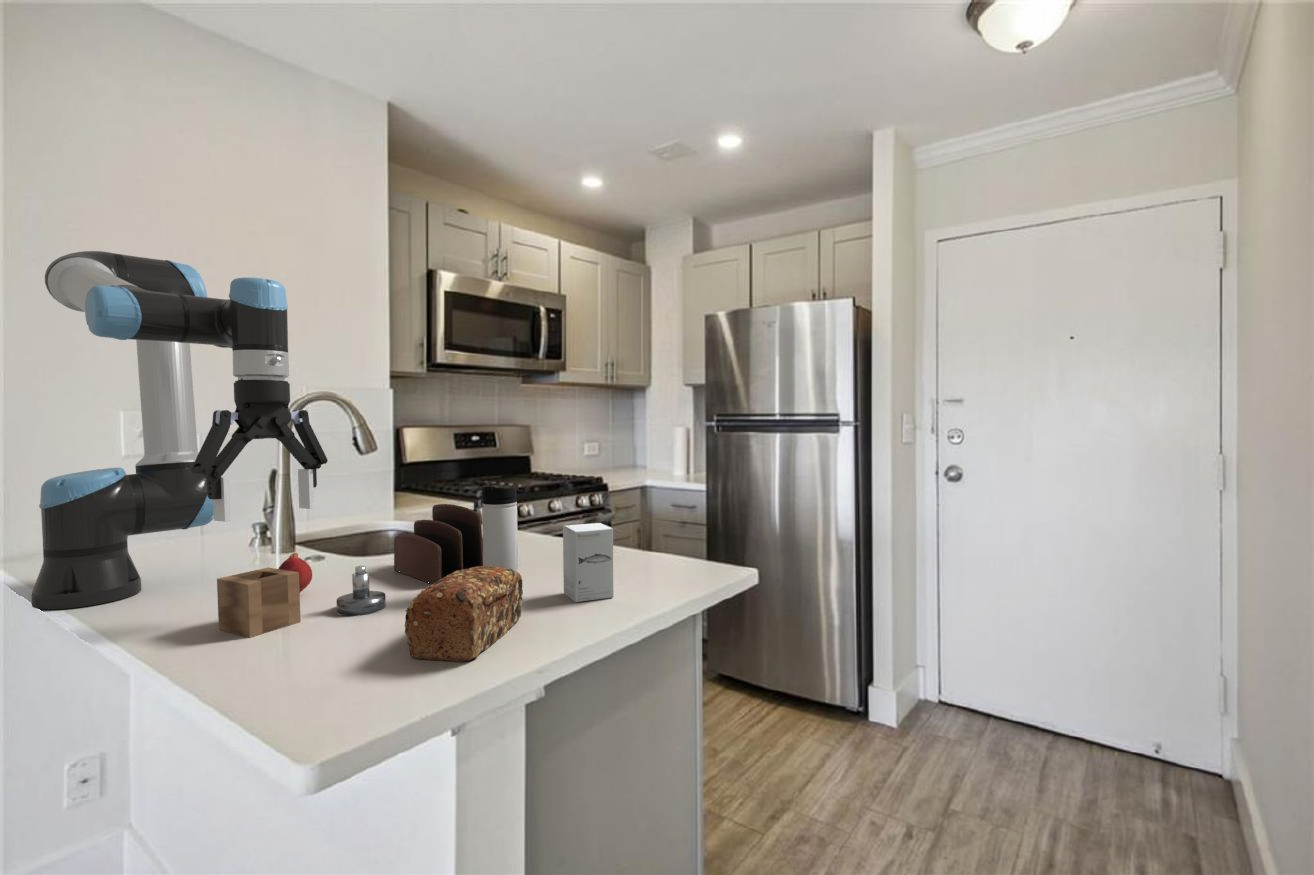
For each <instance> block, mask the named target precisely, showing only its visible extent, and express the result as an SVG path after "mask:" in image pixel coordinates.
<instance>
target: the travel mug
mask: <svg viewBox="0 0 1314 875" xmlns="http://www.w3.org/2000/svg"><path fill="white" fill-rule="evenodd" d="M481 498H482V500H481V502H482V503H481V506H482V507H481V524H482V537H483V566H493V567H496V566H498V567H503V568H507V569H508V568H510V569H513V570H514V571H517V572H518V573H519V544H518V543H519V538H518V506H517V505H518V502H517V488H516V487H509V488H508V487H496V486H495V485H484V486H482V487H481Z"/></svg>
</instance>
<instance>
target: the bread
mask: <svg viewBox="0 0 1314 875" xmlns="http://www.w3.org/2000/svg"><path fill="white" fill-rule="evenodd" d="M523 591H524V590H523V578H522V575H521V574H520V573H519V571H518V572H517V571H514V570H513V569H510V568H508V569H507V568H503V567H498V566H496V567H493V566H475V567H472V568H469V569H463V570H457V571H455V572H453V573H451V574H450V575H447V576H446V577H444V578H442V579H441V580H439V581H437V582H435V583H434V584H430V585H428V586H426V587H425V588H424V589H422V590H421V591H420V592H418V594H417V595H416V597H414V598H413V599H412V600H411V601H410V602H409V604H408V606H407V608H406V609H405V612H406V613H405V616H404V618H405V621H404V633H405V635H406V637H407V643H406V644H407V648H408V649H407V650H408V652H409V656H410V657H411V656H412V657H414V658H418V659H420V660H430V661H431V660H432V661H446V662H447V661H448V662H459V663H460V662H461V663H462V662H463V663H465V662H469V661H470V660H474V659H477V658H478V656H479V655H480V653H481V652H484V651H486V650H488V649H489V648H490V647H492V645H493V644H495V643H496V642H498V640H500V639H501V638H503V637H504V636H505V634H507V633H508V631H509V630H510V629H512V627H513V626H515V624H517V623H518V622H519V620H520V618H521V616H522V605H523V594H524V592H523Z"/></svg>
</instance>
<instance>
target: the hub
mask: <svg viewBox="0 0 1314 875" xmlns="http://www.w3.org/2000/svg"><path fill="white" fill-rule="evenodd" d="M354 568H355V570H354V573H352V574H351V577H352V581H351V582H352V592H351V593H348V594H343V595H341V596H338V597H337V598H336V599H335V600H336V613H337V614H338V615H340V616H346V617H347V616H349V617H352V616H363V615H369V614H373V613H376V612H380V611H383V610H384V609H385V608H386V606H387V602H386V598H387V597H386V593H385V592H383V591H379V590H378V591H377V590H370V572H368V571H367V569H366V565H358V566H355V567H354Z"/></svg>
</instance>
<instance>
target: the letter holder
mask: <svg viewBox="0 0 1314 875" xmlns="http://www.w3.org/2000/svg"><path fill="white" fill-rule="evenodd" d="M431 510H432V512H431V513H432V516H431V517H432V519H417V520H415V521H414V522H413V534H410V533H409V534H408V533H399V534H395V536H394V539H393V545H394V546H393V556H394V557H393V568H394V570H397V571H400V572H401V573H400V574H402V573H404V574H403V575H405V574H406V576H408V575H409V576H408V577H410V576H411V578H413V577H414V579H417V580H419V581H421V580H422V582H424V581H426V582H425V583H427V582H429V583H428V584H430V583H431V584H430V585H432V584H434V583H435V582H437V581H439V580H441V579H442V578H444V577H446V576H447V575H450V574H451V573H453V572H455V571H457V570H463V569H469V568H472V567H475V566H483V527H482V515H481V514H480V513H479V512H478V511H475V510H473V509H471V508H468V507H466V506H462V505H457V504H448V503H438V504H433V505H432V509H431ZM397 571H396V572H397Z"/></svg>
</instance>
